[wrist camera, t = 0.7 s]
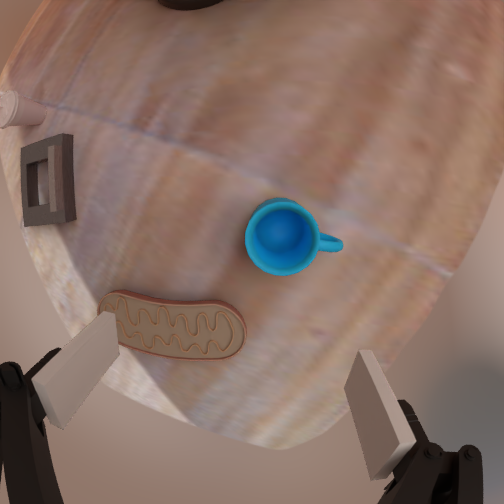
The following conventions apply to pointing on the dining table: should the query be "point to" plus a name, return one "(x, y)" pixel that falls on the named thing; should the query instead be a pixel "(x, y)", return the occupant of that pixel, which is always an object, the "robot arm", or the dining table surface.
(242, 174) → the dining table surface
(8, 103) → the smoothie
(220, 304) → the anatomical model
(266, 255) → the mug
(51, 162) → the jig
